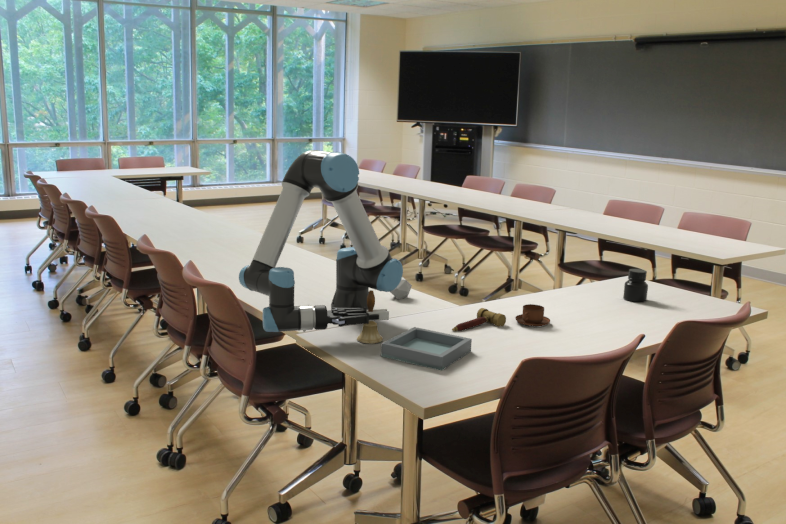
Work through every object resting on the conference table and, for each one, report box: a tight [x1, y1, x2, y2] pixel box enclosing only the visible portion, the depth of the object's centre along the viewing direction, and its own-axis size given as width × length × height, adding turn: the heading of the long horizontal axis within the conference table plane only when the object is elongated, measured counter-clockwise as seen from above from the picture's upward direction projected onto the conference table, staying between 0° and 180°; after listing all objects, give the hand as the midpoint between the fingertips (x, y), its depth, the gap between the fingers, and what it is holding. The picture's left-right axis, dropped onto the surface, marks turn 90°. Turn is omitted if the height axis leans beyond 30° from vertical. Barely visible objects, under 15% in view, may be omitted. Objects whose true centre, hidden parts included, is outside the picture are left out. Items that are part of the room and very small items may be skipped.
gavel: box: [451, 307, 507, 332], centre depth 241 cm, size 21×5×10 cm
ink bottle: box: [622, 268, 649, 303], centre depth 282 cm, size 10×9×12 cm
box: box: [380, 326, 472, 372], centre depth 213 cm, size 20×20×4 cm
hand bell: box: [356, 289, 384, 345], centre depth 222 cm, size 8×8×16 cm
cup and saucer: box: [514, 303, 551, 328], centre depth 246 cm, size 12×12×6 cm
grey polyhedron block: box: [389, 276, 413, 300], centre depth 274 cm, size 8×9×10 cm
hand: (387, 314), depth 224 cm, fingers closed on hand bell, 2 cm apart
